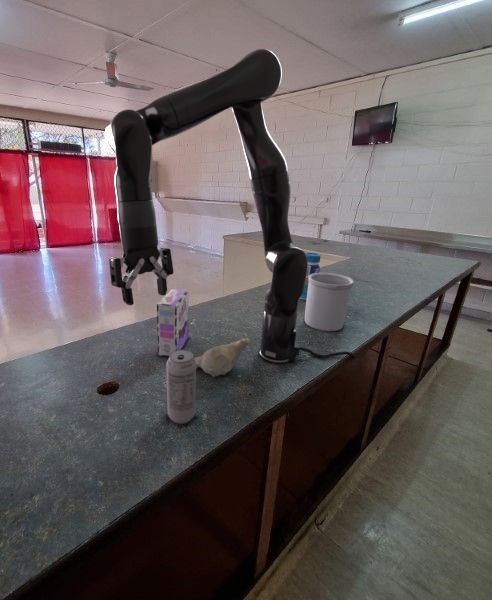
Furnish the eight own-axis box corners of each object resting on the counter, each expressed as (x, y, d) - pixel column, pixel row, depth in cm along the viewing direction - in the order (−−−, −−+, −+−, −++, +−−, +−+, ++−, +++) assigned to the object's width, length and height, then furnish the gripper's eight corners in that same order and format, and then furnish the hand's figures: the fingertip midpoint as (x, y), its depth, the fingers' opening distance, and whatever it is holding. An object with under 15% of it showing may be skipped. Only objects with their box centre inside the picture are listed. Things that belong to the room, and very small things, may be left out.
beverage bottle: (293, 294, 147) (299, 252, 140) (311, 294, 148) (317, 252, 141) (300, 301, 139) (307, 256, 132) (319, 300, 140) (326, 256, 133)
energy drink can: (196, 407, 72) (197, 349, 66) (193, 426, 66) (193, 364, 61) (170, 405, 72) (169, 347, 67) (164, 424, 66) (163, 362, 61)
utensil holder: (337, 336, 107) (347, 287, 101) (296, 324, 116) (302, 278, 109) (349, 322, 118) (358, 277, 112) (310, 312, 127) (317, 270, 120)
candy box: (176, 358, 91) (176, 305, 85) (157, 356, 92) (155, 303, 86) (189, 337, 104) (189, 289, 98) (171, 335, 105) (171, 288, 99)
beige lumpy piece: (191, 389, 81) (237, 367, 74) (180, 363, 83) (224, 338, 76) (220, 378, 94) (261, 358, 87) (210, 355, 96) (250, 334, 89)
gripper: (115, 228, 57) (127, 312, 62) (176, 221, 67) (182, 294, 72) (96, 227, 62) (108, 304, 68) (155, 220, 72) (162, 289, 77)
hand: (146, 299), depth 70 cm, fingers open, 8 cm apart
